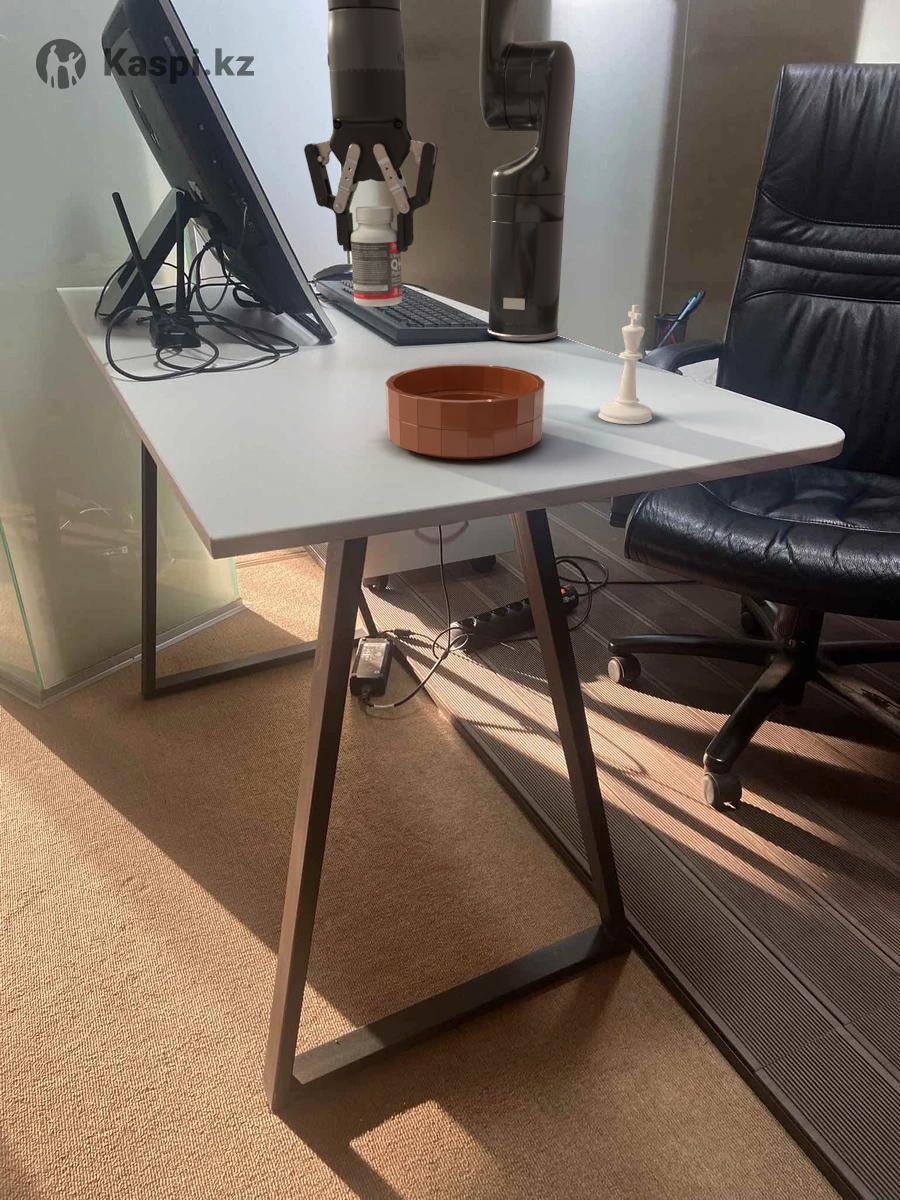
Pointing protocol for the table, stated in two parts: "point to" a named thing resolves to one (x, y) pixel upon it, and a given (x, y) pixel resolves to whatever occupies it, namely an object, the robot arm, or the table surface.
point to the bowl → (464, 410)
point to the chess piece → (628, 380)
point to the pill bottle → (376, 258)
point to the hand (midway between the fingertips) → (375, 250)
